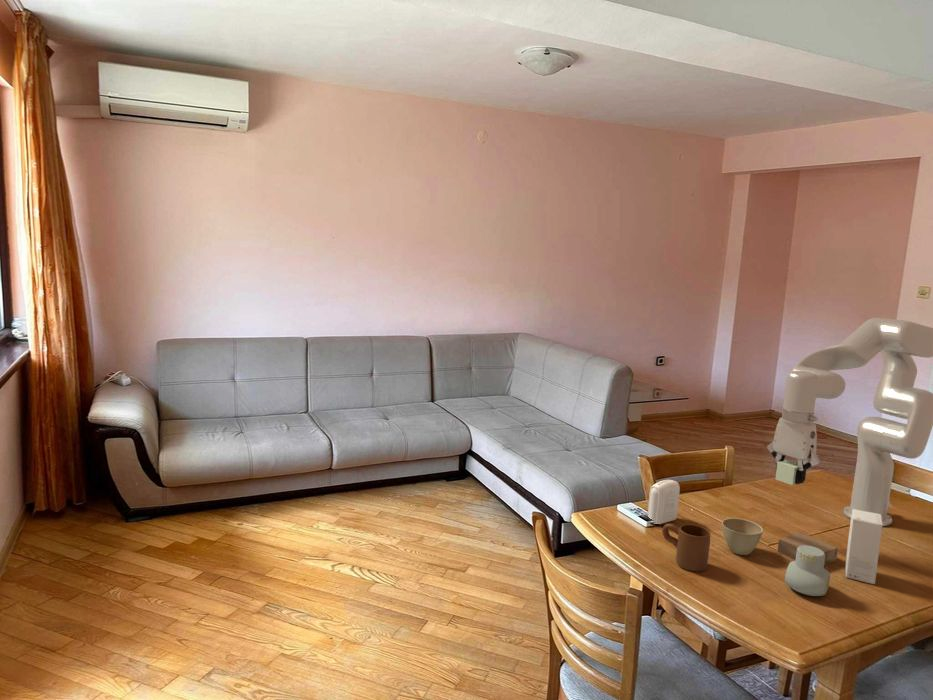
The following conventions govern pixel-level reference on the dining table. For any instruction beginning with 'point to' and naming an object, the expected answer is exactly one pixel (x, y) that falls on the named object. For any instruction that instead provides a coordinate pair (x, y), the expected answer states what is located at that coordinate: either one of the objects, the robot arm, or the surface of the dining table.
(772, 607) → the dining table surface
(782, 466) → the sage cube
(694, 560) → the mug
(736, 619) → the dining table surface
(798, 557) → the air freshener
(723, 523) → the flower pot
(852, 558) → the skincare box
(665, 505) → the photo printer
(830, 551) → the brown flat block
